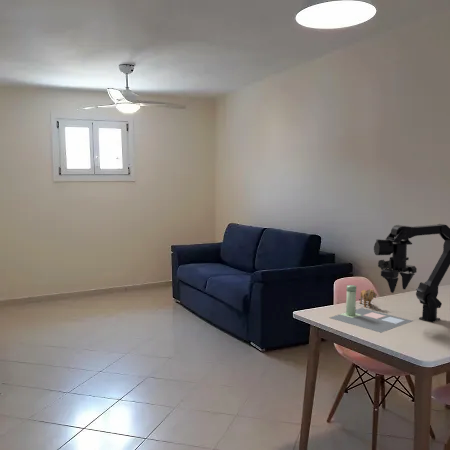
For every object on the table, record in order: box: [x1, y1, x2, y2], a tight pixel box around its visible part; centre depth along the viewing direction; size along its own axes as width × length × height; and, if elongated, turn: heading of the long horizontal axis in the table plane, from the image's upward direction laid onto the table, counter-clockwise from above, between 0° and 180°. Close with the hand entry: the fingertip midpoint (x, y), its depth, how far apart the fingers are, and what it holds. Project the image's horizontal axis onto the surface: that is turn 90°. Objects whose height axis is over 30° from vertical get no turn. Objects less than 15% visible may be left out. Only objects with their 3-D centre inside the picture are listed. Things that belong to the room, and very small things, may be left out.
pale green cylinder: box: [345, 284, 357, 316], centre depth 210 cm, size 4×4×13 cm
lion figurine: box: [358, 288, 378, 308], centre depth 228 cm, size 15×5×9 cm, turn 9°
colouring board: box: [328, 307, 413, 334], centre depth 204 cm, size 24×26×1 cm
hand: (398, 290), depth 202 cm, fingers open, 9 cm apart
